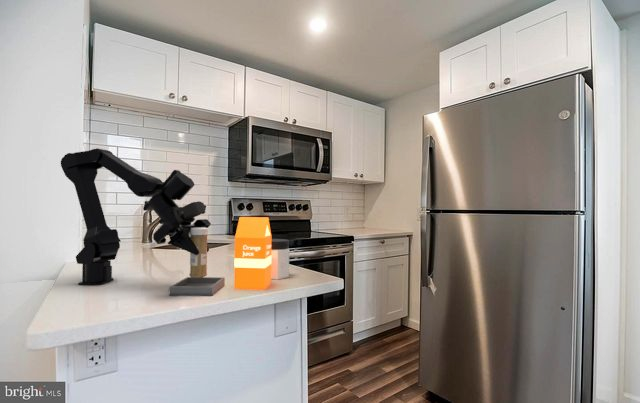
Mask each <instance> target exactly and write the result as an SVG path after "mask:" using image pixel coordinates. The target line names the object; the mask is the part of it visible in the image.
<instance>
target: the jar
mask: <svg viewBox="0 0 640 403" xmlns="http://www.w3.org/2000/svg"><path fill="white" fill-rule="evenodd" d="M289 242H290V240H289V239H284V238H271V280H283V279H288V278H289V276H290V248H289V246H290V243H289Z"/></svg>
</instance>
